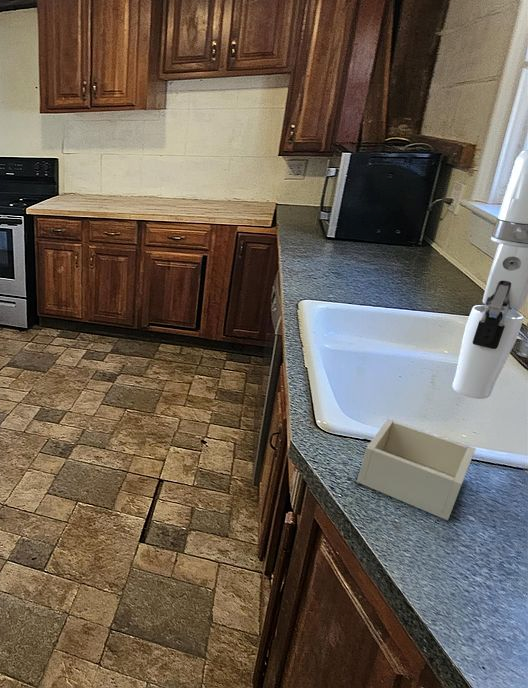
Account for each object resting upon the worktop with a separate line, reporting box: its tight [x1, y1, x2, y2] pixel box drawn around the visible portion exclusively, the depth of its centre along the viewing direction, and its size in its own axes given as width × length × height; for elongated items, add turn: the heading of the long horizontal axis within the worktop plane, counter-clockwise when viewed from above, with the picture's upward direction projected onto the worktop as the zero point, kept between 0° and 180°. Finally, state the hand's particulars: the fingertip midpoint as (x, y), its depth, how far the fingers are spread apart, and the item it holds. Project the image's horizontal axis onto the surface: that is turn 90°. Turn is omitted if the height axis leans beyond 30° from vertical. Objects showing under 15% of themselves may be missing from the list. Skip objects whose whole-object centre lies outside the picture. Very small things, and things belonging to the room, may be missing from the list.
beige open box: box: [356, 418, 476, 521], centre depth 89 cm, size 13×13×7 cm
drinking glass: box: [452, 304, 525, 400], centre depth 89 cm, size 7×7×15 cm
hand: (488, 339), depth 88 cm, fingers closed on drinking glass, 6 cm apart
